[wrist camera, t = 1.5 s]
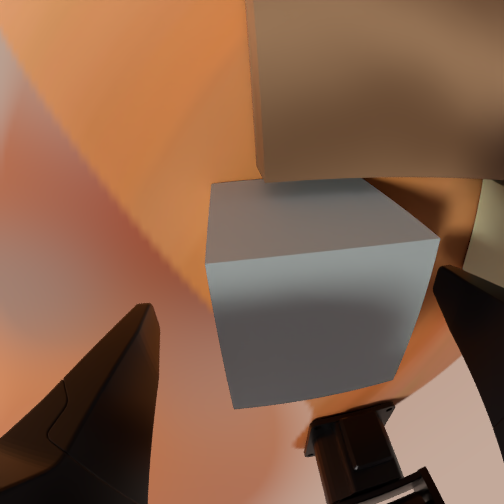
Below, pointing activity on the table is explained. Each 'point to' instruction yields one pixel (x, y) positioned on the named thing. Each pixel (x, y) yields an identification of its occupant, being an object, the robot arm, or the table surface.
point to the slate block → (312, 286)
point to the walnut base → (377, 88)
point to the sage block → (488, 235)
